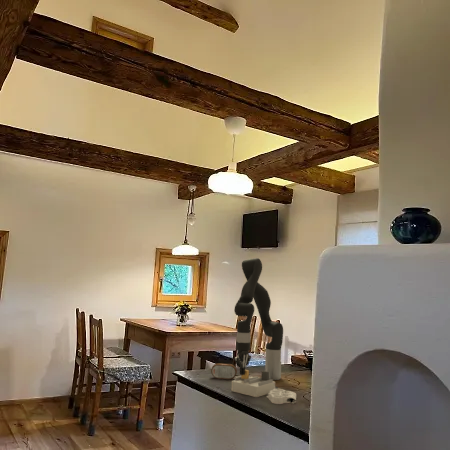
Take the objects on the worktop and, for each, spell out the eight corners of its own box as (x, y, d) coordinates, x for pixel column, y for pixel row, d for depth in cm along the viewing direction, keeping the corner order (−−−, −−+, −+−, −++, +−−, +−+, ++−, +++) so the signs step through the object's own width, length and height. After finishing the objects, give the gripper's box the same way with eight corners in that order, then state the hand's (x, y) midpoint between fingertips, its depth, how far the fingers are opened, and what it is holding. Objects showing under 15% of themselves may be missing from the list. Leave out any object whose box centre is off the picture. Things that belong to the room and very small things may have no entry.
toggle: (263, 380, 238) (263, 370, 239) (270, 381, 236) (270, 371, 236) (259, 380, 236) (260, 371, 237) (266, 382, 233) (267, 372, 234)
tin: (236, 378, 262) (237, 364, 263) (236, 380, 259) (236, 365, 260) (211, 377, 264) (211, 362, 265) (210, 378, 261) (211, 363, 262)
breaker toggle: (243, 378, 240) (243, 369, 240) (249, 380, 237) (250, 370, 237) (239, 379, 237) (240, 369, 238) (246, 380, 235) (247, 371, 235)
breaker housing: (250, 385, 246) (250, 373, 247) (274, 391, 236) (275, 378, 237) (231, 391, 233) (231, 378, 234) (256, 397, 223) (257, 383, 224)
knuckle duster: (295, 406, 211) (264, 403, 214) (296, 396, 229) (267, 394, 232) (295, 399, 212) (265, 396, 214) (296, 390, 229) (268, 387, 232)
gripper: (245, 339, 245) (243, 371, 243) (230, 341, 235) (228, 375, 233) (256, 340, 240) (255, 374, 238) (241, 343, 230) (240, 377, 228)
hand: (242, 374), depth 235 cm, fingers closed
